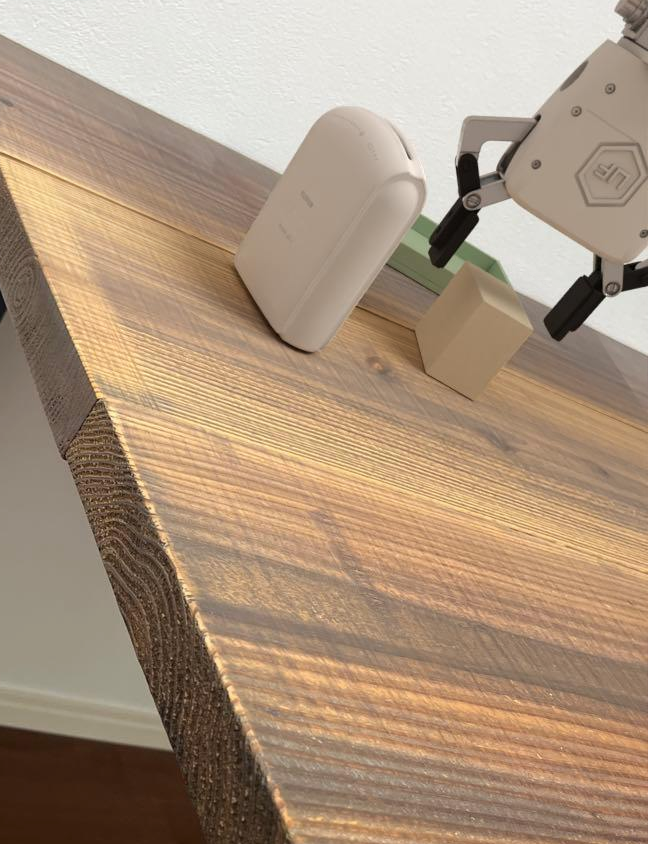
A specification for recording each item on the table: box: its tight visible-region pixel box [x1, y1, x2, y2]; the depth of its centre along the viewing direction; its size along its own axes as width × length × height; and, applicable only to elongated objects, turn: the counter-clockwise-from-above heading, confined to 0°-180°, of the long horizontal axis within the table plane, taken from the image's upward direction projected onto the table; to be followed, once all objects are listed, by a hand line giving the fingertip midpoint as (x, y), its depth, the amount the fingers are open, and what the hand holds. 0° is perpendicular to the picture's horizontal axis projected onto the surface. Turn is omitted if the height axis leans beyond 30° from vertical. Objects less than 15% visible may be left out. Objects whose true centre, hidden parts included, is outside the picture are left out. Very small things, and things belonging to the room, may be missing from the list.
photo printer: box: [233, 105, 428, 353], centre depth 61 cm, size 10×4×12 cm, turn 13°
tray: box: [385, 212, 530, 319], centre depth 93 cm, size 14×15×2 cm
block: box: [414, 261, 534, 402], centre depth 72 cm, size 4×8×6 cm, turn 170°
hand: (492, 296), depth 70 cm, fingers open, 9 cm apart
